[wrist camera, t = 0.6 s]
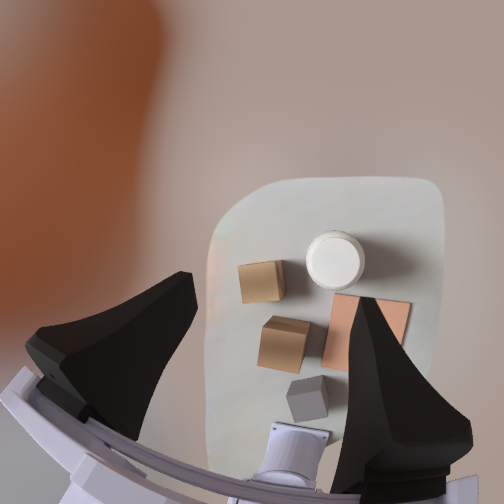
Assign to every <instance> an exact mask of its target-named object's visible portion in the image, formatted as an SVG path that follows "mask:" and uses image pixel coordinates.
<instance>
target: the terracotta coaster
mask: <svg viewBox="0 0 504 504" xmlns="http://www.w3.org/2000/svg"><path fill="white" fill-rule="evenodd" d="M359 299H360V297H359V296H352V295H344V294H337V293H335V296H334V302H333V308H332V313H331V319H330V325H329V330H328V335H327V340H326V345H325V350H324V354H323V359H322V364H321V367H324V368H330V369H338V370H345V371H349V368H348V351H349V339H350V331H351V327H352V324H353V320H354V317H355V313H356V310H357V306H358V302H359ZM375 300H376V301H377V303H378V305H379V307H380V309H381V311H382V313H383V315H384V317H385V319H386V320H387V322H388V324H389V326H390V328H391V329H392V331H393V333H394V335H395V336H396V338H397V340H398V341H399V343H400V345H401V342H402V338H403V334H404V330H405V325H406V321H407V316H408V312H409V307H410V303H408V302H400V301H391V300H383V299H375Z"/></svg>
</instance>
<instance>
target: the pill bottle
mask: <svg viewBox="0 0 504 504" xmlns="http://www.w3.org/2000/svg"><path fill="white" fill-rule="evenodd" d="M306 265H307V269H308V272H309V275H310V276H311V278H312V279H313V280H314V282H315V283H317V284H318V285H319V286H321V287H323V288H325V289H328V290H333V291H339V290H344V289H347V288H349V287H351V286H352V285H354V284H355V283H356V282H357V281H358V280H359V278H360V277H361V275H362V273H363V271H364V267H365V255H364V251H363V248H362V246H361V245H360V243H359V242H358V241H357V239H356V238H354V237H353V236H352V235H350V234H348V233H346V232H343V231H336V230H334V231H328V232H325V233H323V234H321V235H319V236H318V237H317V238H316V239H315V240H314V241H313V242H312V243H311V245H310V247H309V249H308V251H307V257H306Z"/></svg>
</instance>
